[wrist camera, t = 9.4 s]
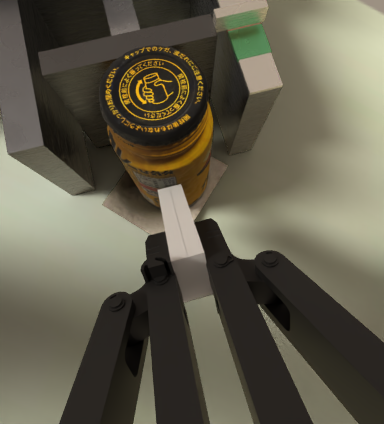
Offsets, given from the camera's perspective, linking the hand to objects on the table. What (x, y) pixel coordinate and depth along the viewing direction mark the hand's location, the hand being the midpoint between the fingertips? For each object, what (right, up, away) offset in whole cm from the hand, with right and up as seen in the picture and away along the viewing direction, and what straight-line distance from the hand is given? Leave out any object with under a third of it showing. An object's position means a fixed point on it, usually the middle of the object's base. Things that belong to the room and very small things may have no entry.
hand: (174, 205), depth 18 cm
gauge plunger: (-2, +10, +8) cm, 13 cm away
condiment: (-1, +2, +7) cm, 7 cm away
